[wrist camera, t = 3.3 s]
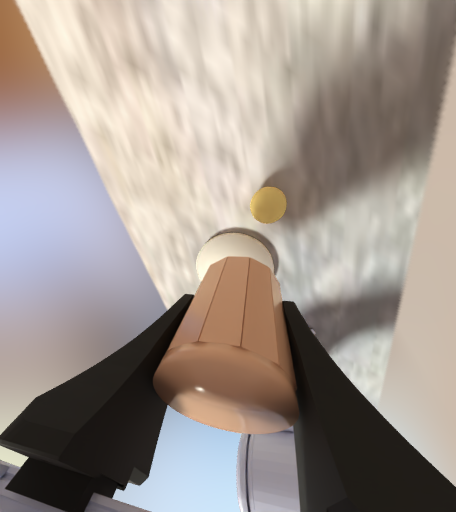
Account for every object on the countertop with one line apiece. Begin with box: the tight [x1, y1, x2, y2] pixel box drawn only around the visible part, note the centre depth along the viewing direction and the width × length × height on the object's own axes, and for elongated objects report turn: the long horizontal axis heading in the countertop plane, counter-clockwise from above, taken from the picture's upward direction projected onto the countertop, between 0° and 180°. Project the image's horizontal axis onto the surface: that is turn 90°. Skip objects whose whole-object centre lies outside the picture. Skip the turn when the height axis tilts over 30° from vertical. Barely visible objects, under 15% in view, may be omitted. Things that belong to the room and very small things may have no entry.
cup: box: [153, 256, 299, 434], centre depth 9 cm, size 6×6×7 cm
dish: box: [196, 233, 274, 281], centre depth 19 cm, size 9×9×1 cm
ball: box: [250, 187, 287, 224], centre depth 14 cm, size 3×3×3 cm
